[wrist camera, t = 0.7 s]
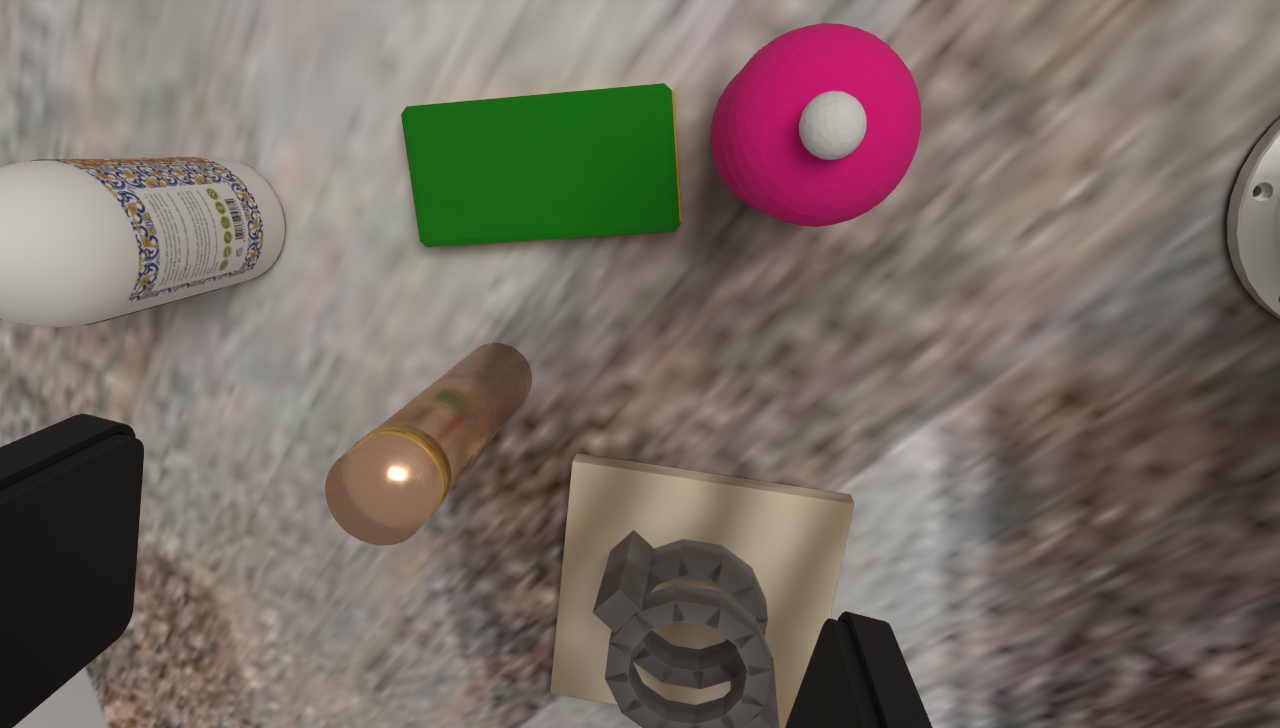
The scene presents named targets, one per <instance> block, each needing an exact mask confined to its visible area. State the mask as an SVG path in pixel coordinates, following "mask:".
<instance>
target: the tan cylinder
mask: <svg viewBox="0 0 1280 728" xmlns="http://www.w3.org/2000/svg"><path fill="white" fill-rule="evenodd" d="M531 384H532V374H531V370H530V367H529V364H528V362H527V361H526V359H525V358H524V356H523V355H522V354H521V353H520V352H518V351H517V350H516V349H514V348H512V347H510V346H508V345H505V344H501V343H490V344H486V345H483V346H481V347H479V348H477V349H476V350H475V351H473V352H472V353H471V354H470V355H468V356H467V357H466V358H465V359H463V360H462V361H461V362H460V363H458V364H457V365H456V366H455V367H453V368H452V369H451V370H450V371H448V372H447V373H446V374H445V375H443V376H442V377H441V378H440V379H438V380H437V381H436V382H435V383H433V384H432V385H431V386H430V387H428V388H427V389H426V390H425V391H423V392H422V393H421V394H420V395H418V396H417V397H416V398H414V399H413V400H412V401H411V402H409V403H408V404H407V405H406V406H404V407H403V408H402V409H401V410H399V411H398V412H397V413H396V414H394V415H393V416H392V417H391V418H389V419H388V420H387V421H386V422H384V423H383V424H382V425H381V426H379V427H378V428H376V429H374V430H373V431H371V432H370V433H369V434H367V435H366V436H365V437H364V438H362V439H361V440H360V441H359V442H357V443H356V444H355V445H354V446H353V447H352V449H351V450H349V451H348V452H347V453H346V454H344V455H343V456H342V457H341V458H339V459H338V460H337V461H336V462H335V464H334V465H333V466H332V468H331V469H330V471H329V474H328V476H327V480H326V487H325V492H326V499H327V503H328V506H329V509H330V511H331V513H332V515H333V517H334V518H335V520H336V521H337V522H338V523H339V525H340V526H341V527H342V528H343V529H344V530H345V531H347V532H348V533H349V534H351V535H352V536H354V537H355V538H357V539H359V540H361V541H364V542H367V543H371V544H375V545H392V544H397V543H400V542H402V541H405V540H407V539H408V538H410V537H411V536H412V535H414V534H415V533H416V532H417V531H418V529H419V528H420V527H421V526H422V524H423V523H424V522H425V521H426V520H427V519H428V518H429V517H430V516H431V515H432V514H433V513H434V512H435V510H436V509H437V508H438V507H439V506H440V504H441V503H442V502H443V501H444V499H445V498H446V496H447V494H448V493H449V491H450V490H451V489H452V488H453V486H454V485H455V484H456V483H457V481H458V480H459V479H460V478H461V477H462V475H463V474H464V473H465V472H466V470H467V469H468V468H469V467H470V465H471V464H472V463H473V462H474V461H475V459H476V458H477V457H478V456H479V454H480V453H481V452H482V451H483V449H484V448H485V447H486V446H487V445H488V443H489V442H490V441H491V440H492V438H493V437H494V436H495V435H496V433H497V432H498V431H499V430H500V429H501V427H502V426H503V425H504V424H505V422H506V421H507V420H508V419H509V417H510V416H511V415H512V414H513V413H514V411H515V410H516V409H517V408H518V406H519V405H520V404H521V403H522V401H523V400H524V399H525V398H526V396H527V395H528V393H529V391H530V388H531Z"/></svg>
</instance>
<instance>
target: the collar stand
mask: <svg viewBox="0 0 1280 728" xmlns="http://www.w3.org/2000/svg"><path fill="white" fill-rule="evenodd" d="M853 507H854V502H853V500H852V497H851V495H849V494H843V493H836V492H829V491H823V490H816V489H810V488H803V487H796V486H790V485H783V484H777V483H770V482H763V481H757V480H750V479H744V478H737V477H731V476H724V475H717V474H711V473H704V472H698V471H691V470H684V469H678V468H671V467H665V466H658V465H651V464H645V463H638V462H632V461H625V460H618V459H612V458H605V457H599V456H592V455H586V454H579V453H576V455H575V457H574V459H573V462H572V472H571V483H570V493H569V503H568V514H567V524H566V534H565V545H564V555H563V565H562V576H561V586H560V596H559V607H558V617H557V627H556V637H555V648H554V658H553V668H552V679H551V689H550V693H552V694H558V695H564V696H569V697H575V698H581V699H587V700H592V701H598V702H604V703H609V704H615V705H618V706H619V708H620V710H621V712H622V713H623V714H624V715H625V716H627V717H628V718H630V719H631V720H633V721H634V722H635V723H637V724H638V725H640V726H641V727H643V728H785V726H786V723H787V721H788V718H789V715H790V713H791V710H792V707H793V704H794V702H795V699H796V696H797V694H798V691H799V688H800V685H801V683H802V680H803V677H804V675H805V672H806V669H807V666H808V664H809V661H810V658H811V656H812V653H813V650H814V647H815V645H816V642H817V639H818V637H819V634H820V631H821V628H822V626H823V624H824V622H825V621H826V620H827V619H830V614H831V610H832V605H833V600H834V596H835V591H836V586H837V582H838V577H839V572H840V568H841V563H842V558H843V554H844V549H845V544H846V540H847V535H848V530H849V526H850V521H851V516H852V512H853Z"/></svg>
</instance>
